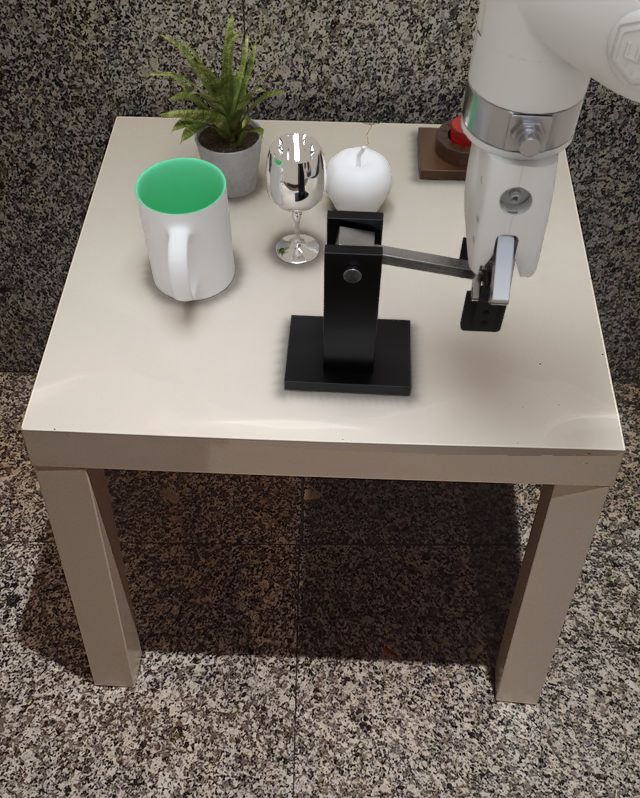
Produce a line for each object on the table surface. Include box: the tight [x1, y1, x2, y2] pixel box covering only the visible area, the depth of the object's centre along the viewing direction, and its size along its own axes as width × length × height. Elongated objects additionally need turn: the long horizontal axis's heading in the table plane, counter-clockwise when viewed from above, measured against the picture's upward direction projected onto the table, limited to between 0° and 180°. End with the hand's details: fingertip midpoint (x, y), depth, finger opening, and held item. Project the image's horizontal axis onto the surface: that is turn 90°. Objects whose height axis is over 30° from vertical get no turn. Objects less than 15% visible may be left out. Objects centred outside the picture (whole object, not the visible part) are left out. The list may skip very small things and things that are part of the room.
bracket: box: [283, 209, 412, 397], centre depth 70 cm, size 11×8×15 cm
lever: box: [335, 226, 493, 286], centre depth 66 cm, size 13×5×2 cm, turn 87°
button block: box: [417, 118, 471, 181], centre depth 93 cm, size 10×8×3 cm
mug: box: [134, 157, 236, 302], centre depth 77 cm, size 12×8×10 cm, turn 4°
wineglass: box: [264, 132, 327, 265], centre depth 80 cm, size 6×6×12 cm
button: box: [450, 114, 472, 147], centre depth 91 cm, size 4×4×2 cm
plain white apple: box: [325, 145, 393, 212], centre depth 86 cm, size 7×7×8 cm
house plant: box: [144, 13, 286, 199], centre depth 86 cm, size 14×14×16 cm
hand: (477, 300), depth 69 cm, fingers closed on lever, 5 cm apart
